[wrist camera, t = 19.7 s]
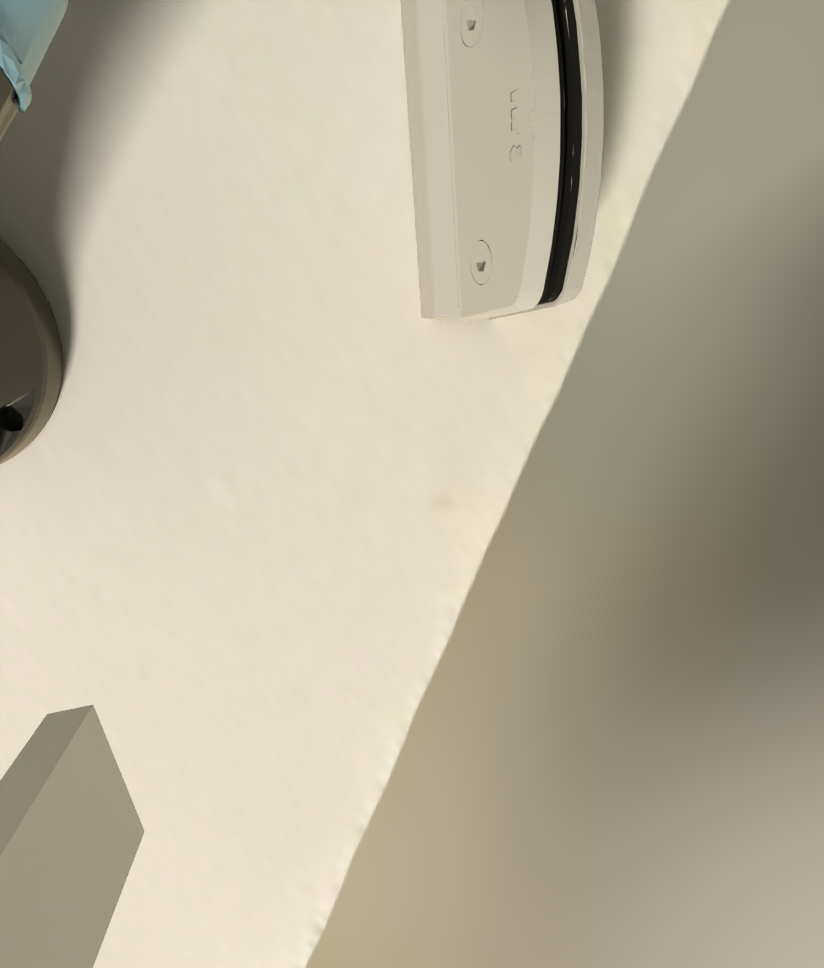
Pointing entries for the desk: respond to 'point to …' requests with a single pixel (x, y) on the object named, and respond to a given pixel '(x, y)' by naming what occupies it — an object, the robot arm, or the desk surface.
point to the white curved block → (503, 151)
